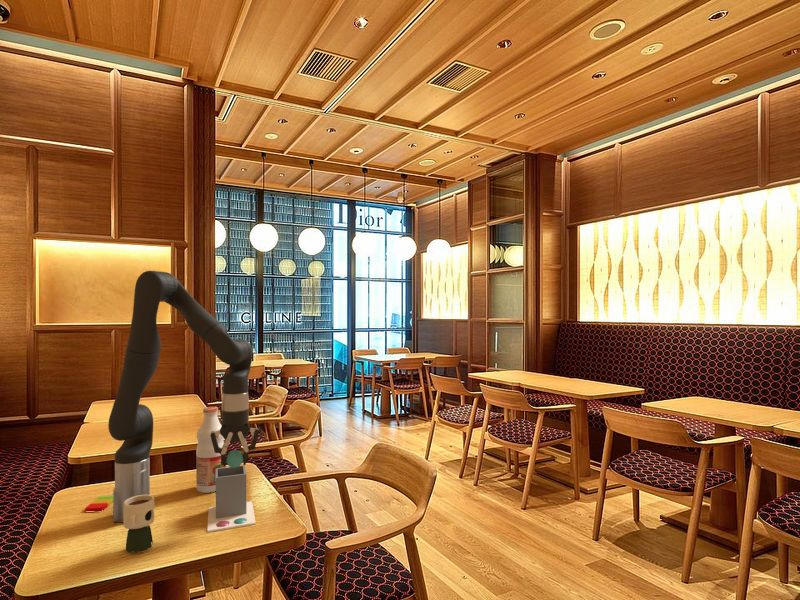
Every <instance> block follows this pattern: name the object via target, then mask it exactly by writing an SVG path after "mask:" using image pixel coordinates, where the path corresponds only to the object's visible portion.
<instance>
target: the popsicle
mask: <svg viewBox="0 0 800 600" xmlns="http://www.w3.org/2000/svg"><path fill="white" fill-rule="evenodd" d="M110 504H111V505H113V493H111V494H110V495H108V496H107V495H105V496H98V497H97V498H96V499H95V500H94V501H92V502H91V503H89V504H88V505H87V506H86V507H85V508H84V512H85V511H101V512H103V511H105V510H106V509H107V508H108V507H110V506H111V505H110ZM105 508H106V509H105ZM104 509H105V510H104ZM102 510H103V511H102Z"/></svg>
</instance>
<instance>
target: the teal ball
mask: <svg viewBox="0 0 800 600" xmlns="http://www.w3.org/2000/svg"><path fill="white" fill-rule="evenodd" d="M241 465H243V452H242V451H241V450H239V449H233V450H230V451H229V452H228V453H226V466H227V467H232V468H235V467H238V466H241Z"/></svg>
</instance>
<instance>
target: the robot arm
mask: <svg viewBox="0 0 800 600" xmlns="http://www.w3.org/2000/svg"><path fill="white" fill-rule="evenodd" d="M133 294H134V295H133V296H134V297H133V307H132V308H133V309H132V317H131V322H130V328H129V336H128V340H127V344H126V349H125V353H124V359H123V365H122V370H121V373H120V379H119V383H118V388H117V392H116V396H115V399H114V402H113V404H112V409H111V411H110V415H109V418H108V424H107V425H108V432H109V434H110V436H111V438H112V439H113V440H115V441H121V442H122V441H123V443H122V444H121V445H120V447H119V448H118V449H117V450H116V451H115V454H114V487H113V490H112V492H113V503H112V506H113V510H112V511H113V512H112V513H113V514H112V515H113V516H112V519H113V520H112V522H113V523H124V517H123V504H124V501H125V500H127V499H129V498H131V497H134V496H138V495H151V491H150V488H151V485H150V484H151V482H150V479H151V477H150V474H151V472H150V471H151V470H150V466H151V465H150V464H151V463H150V462H151V461H150V452H151V450H152V446H153V443H154V442H153V438H154V437H153V436H154V417H153V413H152V411H151V409H150V408H149V407H148V406H147V405H145V404H142V403H141V404H140V401H141V398H142V396H143V393H144V391H145V389H146V387H147V386H148V385H149V383H150V381H151V379H152V378H153V376H154V375H155V373H156V370H157V368H158V366H159V362H160V356H161V352H162V340H161V336H160V332H159V329H158V324H157V319H158V318H157V316H158V310H159V306H160V303H163V302H164V303H165V304H168V305H170V306H171V307H173V308H174V309H176V310H177V311H178V313H180V315H181V316H182V317H183V319H184V321H185V322H186V324H187V326H188V327H189V329H190V330H191V331H192V332H193V333H194V334H195V335H196V336H197V337H199V338H200V339H201V340H203V342H204V343H206V344H207V345H208V346H209V348H210V349H211V351H212V352H213V354H214V355H215V357H217V358H218V360H220V361H221V362H222V363H223V364H226V365H227V366H229V368H228V370H227V372H226V373H225V374H224V375H223V380H222V398H221V425H222V427H221V429H220V430H218V431H215V432H214V431H212V432H211V435H210V436H211V440H212V444H213V448H214V452H215V453H220V454H221V465H223V467H227V463H226V456H227V449H228V447H229V445H230V444H233V443H241V446H242V449H243V452H242V453H243V462H242V465H245V466H246V464H247V463H248V462H249V452H251V451H252V450H253V451H254V450H255V449H256V445H257V441H258V439H259V434H260V429H259V427H250V423H249V419H250V418H249V416H250V415H249V413H250V397H249V375H250V371H251V365H252V362H253V348H252V345H251V344H250V342H249V341H248V340H246V339H243V338H241V339H240V338H239V339H233V338H231V337H230V336H229V334H228V329H227V327H226V326H225V325H224V324H223V323H222V322H220V321H219V320H218V319H217V318H216V317H214V316H213V315H212V314H211V313H209V312H208V311H207V310H206V309H205V308H204V307H203V306H202V305H201V304H200V303H198V301H197V300H196V299H195V297H194V296H192V295H191V293H190V292H189V291H188V290H187V289H186V287H184V286H183V284H182V283H181V282H180V280H178V278H177V277H176V276H175V275H173V274H172V273H170V272H167V271H158V270H157V271H156V270H146V271H144V272H142V273H141V274H140V275H139V276H138V277H137V280H136V281H135V286H134V293H133ZM249 433H250V434H251V436H252V438H251V443H250V444H249V445H248V443H247V439H246V437H247V436H248V435H249ZM219 434H221V435H222V436H223V438H224V439H223V441H224V444H223V447H222V448H220V447H219V446H218V442H217V439H218V438H219Z"/></svg>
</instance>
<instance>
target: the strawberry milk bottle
mask: <svg viewBox="0 0 800 600" xmlns="http://www.w3.org/2000/svg"><path fill="white" fill-rule="evenodd" d="M218 413H219V407H217V406H207V407H204V408H203V409H202V414H203V420H202V423H201V425H200V426H199V427H198V429H197V431H196V439H197V445H196V452H195V453H196V454H195V455H196V458H195V459H196V461H195V463H196V465H195V466H196V472H195V473H196V474H195V476H196V490H197V492H199V493H202V494H211V493H216V492H215V491H216V469H217V468H225V467H223V465H221V454H220V453H215V452H214V448H213V444H212V440H211V436H210V435H211V432H212V431H214V432H215V431H218V430H220V429H221V427H222V423H221V422H220V420H219V417H218V416H219V415H218ZM224 441H225V439H224V438H223V436H222V435H221V434H219V438H218V439H217V442H218V446H219V447H220V448H222V447H223V444H224ZM210 492H211V493H210Z"/></svg>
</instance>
